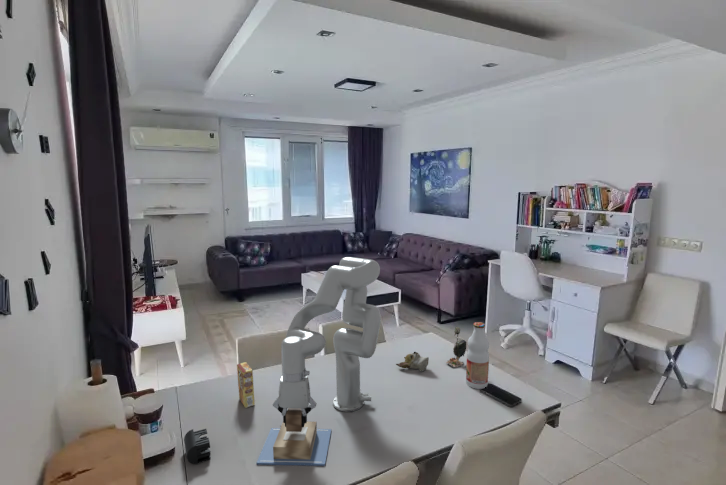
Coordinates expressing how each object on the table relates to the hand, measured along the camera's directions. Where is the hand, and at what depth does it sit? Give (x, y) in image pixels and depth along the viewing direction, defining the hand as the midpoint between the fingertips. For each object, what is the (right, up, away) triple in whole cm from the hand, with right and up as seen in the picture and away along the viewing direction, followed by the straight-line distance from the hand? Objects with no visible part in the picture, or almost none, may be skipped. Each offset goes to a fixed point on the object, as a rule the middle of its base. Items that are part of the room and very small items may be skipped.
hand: (295, 424), depth 135 cm
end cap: (-32, -9, -2) cm, 33 cm away
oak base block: (0, -8, +1) cm, 8 cm away
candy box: (-25, -4, +29) cm, 39 cm away
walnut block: (0, -1, 0) cm, 1 cm away
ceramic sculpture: (+48, 0, +58) cm, 75 cm away
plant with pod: (+69, +1, +62) cm, 93 cm away
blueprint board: (0, -8, +1) cm, 8 cm away
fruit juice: (+74, -2, +42) cm, 85 cm away
